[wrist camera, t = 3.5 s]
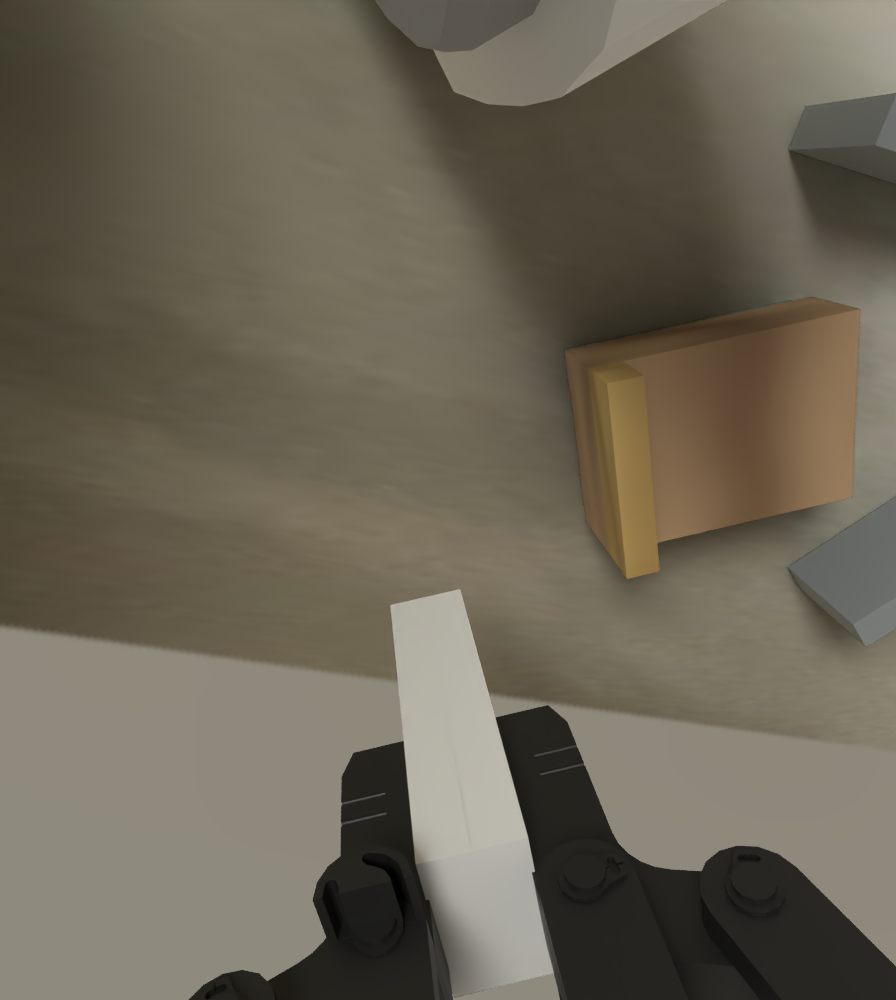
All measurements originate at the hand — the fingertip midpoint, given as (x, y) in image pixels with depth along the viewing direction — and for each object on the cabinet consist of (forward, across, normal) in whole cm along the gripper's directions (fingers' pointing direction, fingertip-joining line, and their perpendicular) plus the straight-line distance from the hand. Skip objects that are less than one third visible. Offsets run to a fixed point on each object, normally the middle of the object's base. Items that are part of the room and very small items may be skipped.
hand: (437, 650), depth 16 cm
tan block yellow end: (+10, +10, 0) cm, 14 cm away
